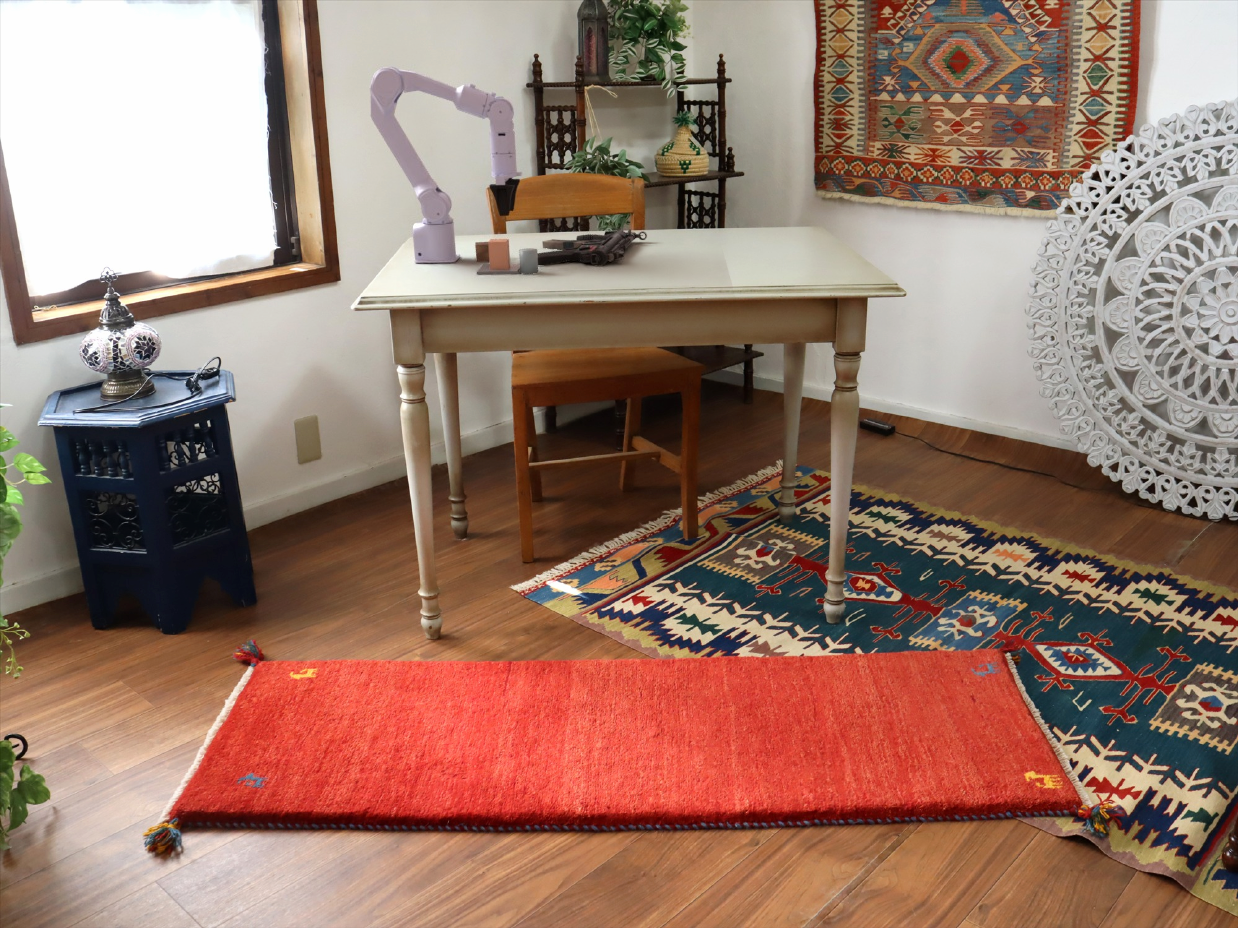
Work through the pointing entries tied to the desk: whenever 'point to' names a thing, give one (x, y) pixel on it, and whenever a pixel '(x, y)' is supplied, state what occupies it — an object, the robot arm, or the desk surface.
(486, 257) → the walnut block
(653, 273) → the desk surface
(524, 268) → the grey teal cylinder
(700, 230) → the desk surface
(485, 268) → the slate pad
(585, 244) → the submachine gun
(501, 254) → the terracotta block
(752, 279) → the desk surface
